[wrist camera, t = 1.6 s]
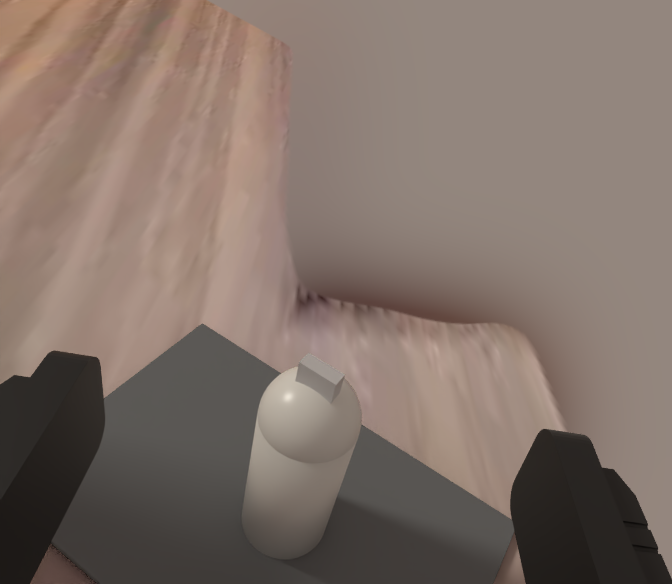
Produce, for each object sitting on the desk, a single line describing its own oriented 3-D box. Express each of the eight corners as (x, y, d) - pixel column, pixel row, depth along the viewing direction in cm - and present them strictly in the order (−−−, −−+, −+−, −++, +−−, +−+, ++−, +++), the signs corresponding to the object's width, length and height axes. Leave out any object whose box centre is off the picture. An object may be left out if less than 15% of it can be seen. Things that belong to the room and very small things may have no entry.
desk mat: (-10, 490, 30) (-12, 486, 30) (202, 327, 42) (202, 323, 41) (388, 837, 23) (391, 835, 23) (515, 526, 34) (517, 523, 34)
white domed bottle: (223, 524, 31) (241, 372, 23) (275, 463, 34) (307, 312, 26) (294, 577, 29) (339, 436, 21) (341, 509, 33) (396, 364, 25)
